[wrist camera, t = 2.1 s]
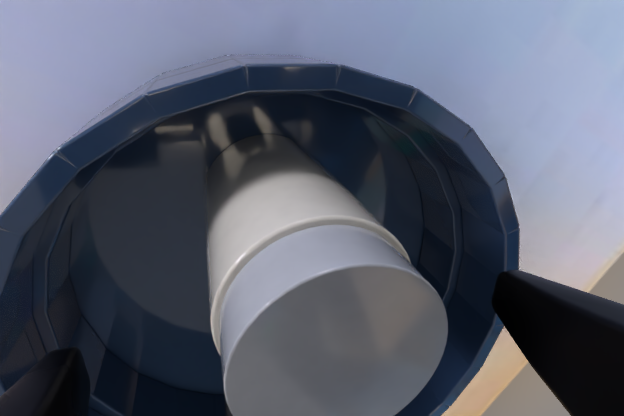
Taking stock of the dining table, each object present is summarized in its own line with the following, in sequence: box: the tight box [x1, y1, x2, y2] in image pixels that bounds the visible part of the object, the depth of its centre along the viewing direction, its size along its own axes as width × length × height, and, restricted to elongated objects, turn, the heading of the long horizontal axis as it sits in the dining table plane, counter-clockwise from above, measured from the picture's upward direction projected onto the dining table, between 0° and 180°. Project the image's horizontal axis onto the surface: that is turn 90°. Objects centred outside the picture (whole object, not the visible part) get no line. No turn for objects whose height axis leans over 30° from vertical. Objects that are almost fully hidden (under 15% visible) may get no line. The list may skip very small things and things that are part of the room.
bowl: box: [0, 55, 520, 416], centre depth 14 cm, size 16×16×5 cm
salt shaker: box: [203, 134, 448, 416], centre depth 11 cm, size 5×5×8 cm
